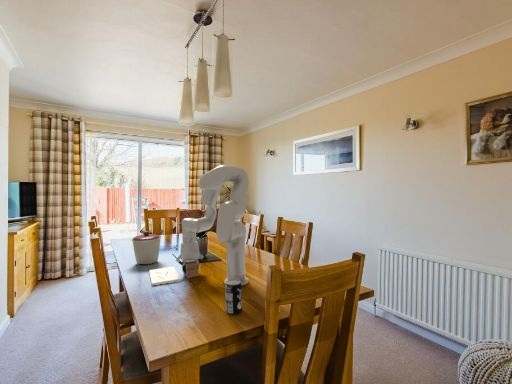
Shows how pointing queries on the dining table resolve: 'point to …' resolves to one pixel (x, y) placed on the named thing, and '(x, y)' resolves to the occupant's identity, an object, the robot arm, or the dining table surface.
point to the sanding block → (191, 268)
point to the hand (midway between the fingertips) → (190, 271)
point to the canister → (146, 248)
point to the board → (164, 276)
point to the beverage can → (233, 296)
